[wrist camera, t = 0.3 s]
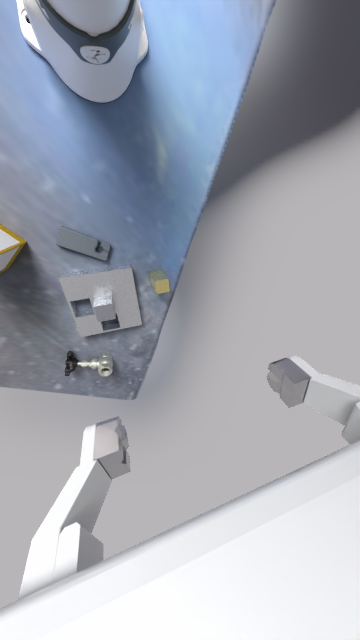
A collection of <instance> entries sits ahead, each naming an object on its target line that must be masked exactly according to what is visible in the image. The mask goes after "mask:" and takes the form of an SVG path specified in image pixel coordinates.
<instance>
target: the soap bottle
mask: <svg viewBox="0 0 360 640" xmlns="http://www.w3.org/2000/svg"><path fill="white" fill-rule="evenodd" d="M26 242H27V241H25V240H24V239H22V238H21V237H19V236H18V235H16V234H15V233H13V232H12V231H10V230H9V229H7V228H6V227H4V226H3V225H1V224H0V273H1V272H3V271H4V270H6V269H8V268H9V267H10V265H11V264H12V262H13V261H14V259H15V258H16V256H17V255H18V254H19V252H20V251H21V249H22V248H23V246H24V245H25V244H26Z"/></svg>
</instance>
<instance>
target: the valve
mask: <svg viewBox="0 0 360 640" xmlns="http://www.w3.org/2000/svg"><path fill="white" fill-rule="evenodd" d="M72 354H73V351H69V352H68V353H67V360H66V368H65V372H66V373H65V376H69V375H70V374H68V373H71V372H72V371H74V370H75V367H77V365H81V367H87V366H89V367H92V368H91V369H95V368H98V372H99V374H100V375H101V376H109V375H110V374H111V373H112V372H113V368H112V367H113V360H112V356H111V354H110V353H102V354H101V355H100V356H99V360H96V359H94V358H93V359H92V360H90V361H89V362H87V360H82V362H78V360H76V358H73V355H72ZM70 367H73V369H72V370H70Z"/></svg>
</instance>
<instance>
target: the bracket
mask: <svg viewBox="0 0 360 640" xmlns="http://www.w3.org/2000/svg"><path fill="white" fill-rule="evenodd" d="M98 243H99V240H98V239H95V238H93V237H90V236H87V235H84V234H82V233H79V232H76V231H74V230H71V229H68V228H65V227H63V226H61V227H59V232H58V238H57V245H58V246H61V247H64V248H67V249H70V250H73V251H76V252H79V253H82V254H85V255H88V256H91V257H94V258H97V259H101V260H104V261H107V258H108V255H109V251H110V247H111V245H110V244H109V243H106V242H104V241H102V243H101V245H100V246H101V247H102V248H103V252H102V253H98V252H97V251H96V247H97V246H98V245H99V244H98Z"/></svg>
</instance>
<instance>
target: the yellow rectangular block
mask: <svg viewBox="0 0 360 640" xmlns="http://www.w3.org/2000/svg"><path fill="white" fill-rule="evenodd" d="M149 273H150V281H151V284H152V286H153V288H154V290H155V292H156V294H160V293H166V292H170V288H169V279H168V278H167V276H166V275H165V274H164V273H163V271H162V270H156V271H149Z"/></svg>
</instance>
